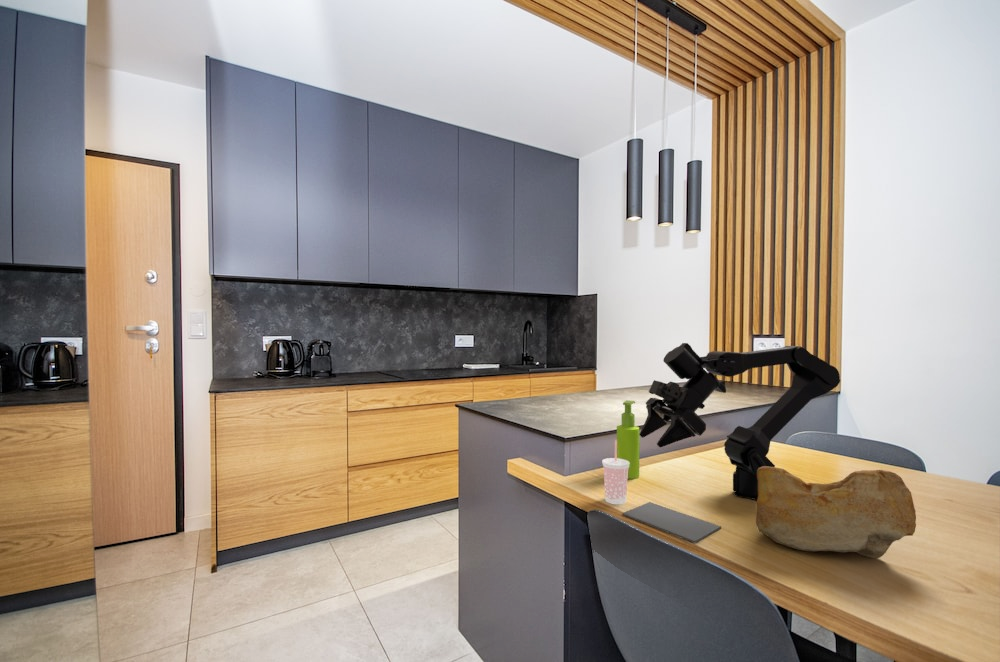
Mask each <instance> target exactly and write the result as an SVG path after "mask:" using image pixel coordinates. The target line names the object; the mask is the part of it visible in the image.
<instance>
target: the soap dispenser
mask: <svg viewBox="0 0 1000 662" xmlns="http://www.w3.org/2000/svg"><path fill="white" fill-rule="evenodd" d="M633 404H636V401H635V400H625V401H623V403H622V405H624V412H623V413H621V424H618V425H617V426H616V440H617V458H619V459H624V460H627V461H629V463H630V464H629V467H628V479H627V480H635V479H639V478H640V435H639V434H640V427H639V426H637V425H635V419H636V418H635V417H636V416H635V413H633V412H632V405H633Z"/></svg>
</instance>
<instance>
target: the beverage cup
mask: <svg viewBox="0 0 1000 662" xmlns="http://www.w3.org/2000/svg"><path fill="white" fill-rule="evenodd" d="M601 463H602V464H601V465H602V466H603V480H604V495H605V496H604V498H605V502H607V503H609V504H612V505H624V504H626V503H627V493H628V480H629V479H628V467H629V464H630V463H629V461H627V460H624V459H619V458H617V439H614V457H607V458H603V459H602V460H601Z"/></svg>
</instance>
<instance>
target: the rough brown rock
mask: <svg viewBox="0 0 1000 662" xmlns="http://www.w3.org/2000/svg"><path fill="white" fill-rule="evenodd" d="M757 479H758V500H756V514H755V524H756V525H755V526H756V528H757V529H758V531H759V533H761V534H763V535H765V536H767V537H768V538H770V539H771V540H772V541H773V542H775V543H777V544H780V545H783V546H786V547H789V548H793V549H795V550H799V551H806V552H819V551H820V552H821V551H822V552H836V553H837V552H838V553H850V552H853V553H854V552H855V553H857V554H859V555H861V556H863V557H867V558H869V559H870V558H873V559H880V558H881V557H883V556H884V555H885V554H886V553H887V552H888V550H889V548H890V547H891V545H892V544H893V543H894V542H897V541H900V540H901V539H903V538H904V537H908V536H910V537H911V536H913V535H914V533H915V531H916V527H917V523H916V521H917V517H916V516H917V515H916V509H915V505H914V499H913V496H912V492H911V491H910V489H909V488H908V487H907V485H906V483H905V482H904V480H903V478H902V477H901V476H900V475H899V474H897V473H895V472H893V471H890V470H886V469H884V470H883V469H876V470H874V469H873V470H871V469H870V470H866V469H865V470H855V471H853V472H850V473H849V474H848V475H847V476H846V477H845V478H843V479H841V480H839V481H835V482H834V481H833V482H830V483H829V482H828V483H820V482H819V483H818V482H815V483H813V482H808V483H807V482H805V481H804V480H803V479H802V478H800V477H798V476H796V475H793V474H792V473H790V472H788V471H787V470H786V469H784V468H781V467H769V466H762V467H760V468H758V470H757Z"/></svg>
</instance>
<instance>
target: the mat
mask: <svg viewBox="0 0 1000 662" xmlns="http://www.w3.org/2000/svg"><path fill="white" fill-rule="evenodd" d="M622 516H624V517H626V518H629V519H633V520H635V521H636V522H639V523H642V524H645V525H647V526H650V527H652V528H655V529H657V530H660V531H663V532H666V533H668V534H670V535H672V536H676V537H678V538H681V539H682V540H683V539H684V540H686V541H689V542H691V543H694V544H697V543H698V542H700V541H701V540H704V539H705V538H707V537H710V536H711V535H712V534H714V533H716V532H717V531H720V530H721V529H722V526H721V525H719V524H716V523H713V522H709V521H706V520H703V519H700V518H699V517H698V518H697V517H695V516H692V515H689V514H685V513H683V512H680V511H677V510H675V509H672V508H668V507H666V506H662V505H659V504H658V503H654V502H652V501H649V502H646V503H643V504H642V505H639V506H636V507H634V508H631V509H630V510H627V511H624V512H622Z"/></svg>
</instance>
